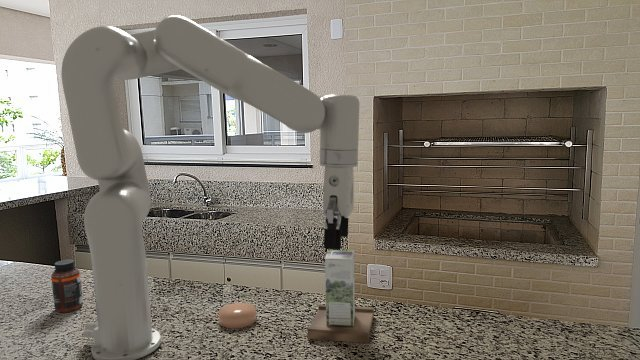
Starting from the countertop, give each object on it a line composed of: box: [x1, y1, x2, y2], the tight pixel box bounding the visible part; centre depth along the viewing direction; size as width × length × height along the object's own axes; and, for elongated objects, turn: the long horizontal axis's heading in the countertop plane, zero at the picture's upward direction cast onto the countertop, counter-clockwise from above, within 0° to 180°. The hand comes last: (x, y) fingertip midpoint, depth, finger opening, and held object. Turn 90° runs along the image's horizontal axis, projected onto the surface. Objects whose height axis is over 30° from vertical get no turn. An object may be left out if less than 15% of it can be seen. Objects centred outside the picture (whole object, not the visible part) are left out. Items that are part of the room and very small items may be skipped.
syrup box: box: [324, 249, 356, 326], centre depth 99 cm, size 6×6×14 cm
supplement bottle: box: [50, 259, 84, 313], centre depth 113 cm, size 6×6×11 cm
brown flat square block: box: [307, 304, 375, 344], centre depth 100 cm, size 12×12×2 cm
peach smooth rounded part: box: [218, 302, 257, 329], centre depth 105 cm, size 8×8×2 cm
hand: (336, 242), depth 98 cm, fingers open, 9 cm apart
